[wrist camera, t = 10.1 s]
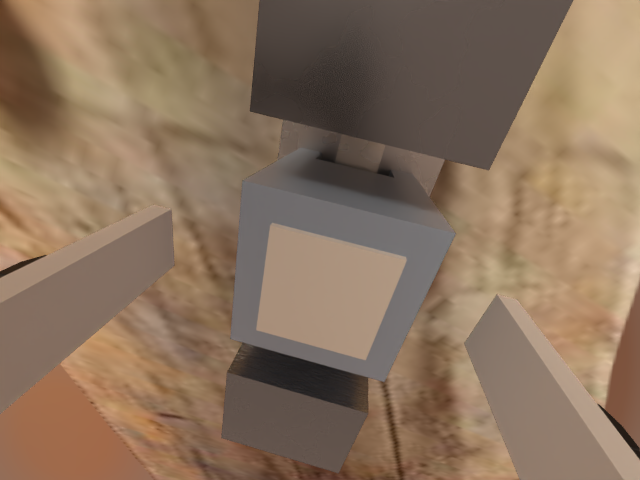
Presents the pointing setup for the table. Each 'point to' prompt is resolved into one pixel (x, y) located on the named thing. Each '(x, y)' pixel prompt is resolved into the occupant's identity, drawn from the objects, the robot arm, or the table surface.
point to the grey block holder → (375, 153)
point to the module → (334, 261)
